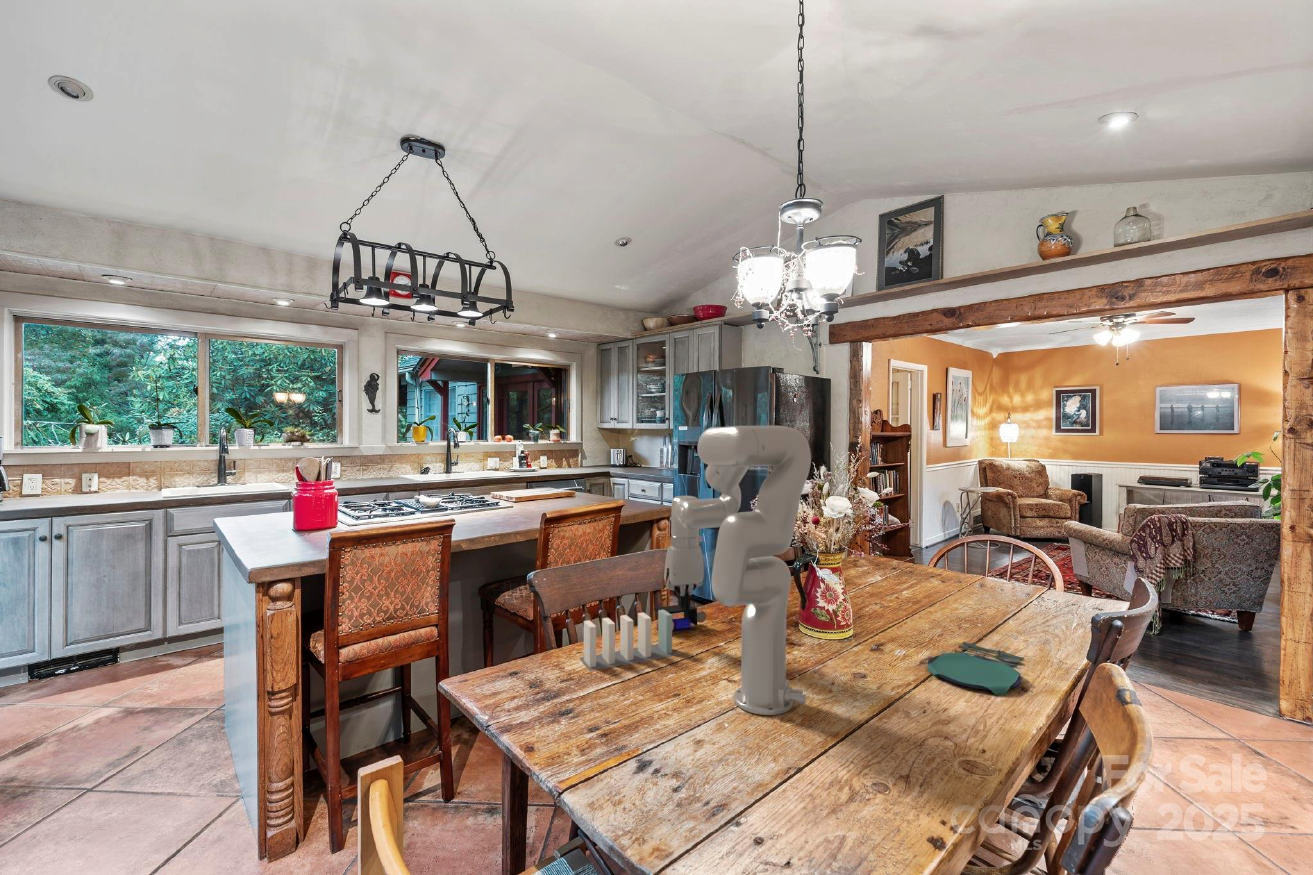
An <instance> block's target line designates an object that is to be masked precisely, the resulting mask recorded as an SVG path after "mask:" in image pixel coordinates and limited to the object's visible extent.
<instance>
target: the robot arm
mask: <svg viewBox="0 0 1313 875" xmlns="http://www.w3.org/2000/svg"><path fill="white" fill-rule="evenodd" d="M810 447H811V446H810V444H809V442H808V439H807V438H806V437H805V435H804V434H803V433H802V432H801V431H800V430H798V429H796V428H794V427H790V426H785V425H732V426H729V425H728V426H711V427H708V428H707V429H705V430H704V431H703V432H702V433H701V435H700V436H699V438H698V442H697V454H698V457H699V459H700V460H701V462H702V463H704V464H705V465H707V466H706V468H705V471H704V477H705V480H706V482H707V483H708V485H709V486H710V487H711V488H712V489H713V490H715V491H717V492H718V493H721V495H720V496H719V497H718V498H717V497H715V498H702V499H701V498H700V499H698V497H696V496H693V495H677V496H674V497H673V498H672V500H671V523H670V524H671V525H670V526H671V529H670V530H671V532H670V536H671V537H670V540H671V541H670V542H671V543H670V546H668V547H667V551H666V555H665V563H664V573H663V574H664V577H663V578H664V581H665V582H666V583H665V584H666V585H665V588H666V589H667V590H670V591H674V592H675V594H677V597H678V598H677V605H678V606H679V608H680V609H682V610H683V611H686V610H690V606H691V602H692V601H691V596H692V595H693V593H694V591H695V590H696V588H699V587H701V586H703V585H704V584H703V582H704V581H703V580H704V576H705V574H704V573H705V572H704V571H705V570H704V568H705V567H704V559H703V552H702V547H701V546H700V542H703V541H704V538H703V536H702V535H700V530H701V529H711V528H712V529H713V528H719V530H718V533H717V534H718V535H717V539H716V545H715V553H714V558H713V563H712V564H713V565H712V571H711V582H710V583H711V590H712V594H713V596H714V598H715V600H716V602H718V603H719V604H720V605H722V606H725V607H729V608H730V607H738V606H739V607H740V606H745V605H746V606H745V607H744V610H743V613H742V617H741V626H740V627H741V630H740V631H741V633H740V634H741V635H740V636H741V637H740V638H741V640H740V641H741V644H740V645H741V647H740V648H741V650H740V652H741V654H740V655H741V656H740V657H741V658H740V660H741V661H740V662H741V667H740V669H741V670H740V671H741V675H740V676H741V679H740V680H741V681H740V682H741V683H740V684H741V686H740V687H739V688H737V689H736V690H735V692H734V693H733V694H734V696H733V700H734V703H735V704H736V705H737V706H738V708H740V709H742V710H744V711H745V712H749V713H751V714H756V715H761V716H777V715H781V714H784V713H787V712H788V711H791V709H793V706H794V703H796V704H800V705H801V704H802V705H806V703H807V694H805V693H803V689H800V688H799V689H798V688H793V687H792V686H790V680H789V679H787V612H788V610H787V609H788V602H789V597H790V592H791V587H792V574H791V571H790V568H789V566H788V564H787V563H786V562H785V561H784V560H783V559H781V558H779V557H777V556H778V555H782V554H784V553H786V552H787V551H788V550H789V549H790V547H791V544H792V541H793V537H794V533H795V532H794V531H795V526H796V523H797V522H796V521H797V517H798V513H799V507H800V501H801V496H802V493H803V491H804V487H805V485H806V481H807V479H808V476H809V473H810V469H811V464H812V454H811V448H810ZM768 466H772V467H773V469H772V470H771V471H770V473H769V474H768V475H767V476H766V477H765V479H764V480H763V482H762V484H761V486H760V487H759V490H758V495H757V502H756V504H755V507H754V509H753V510H752V511H741V512H738V511H739V510H740V508H741V505H742V504H741V502H742V490H741V487H740V486H739V484H740V483H741V481H742V479H743V478H744V476H745V475H746V473H747V471H748V470H749V468H751V467H752V468H753V467H768Z"/></svg>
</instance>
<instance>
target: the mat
mask: <svg viewBox="0 0 1313 875" xmlns="http://www.w3.org/2000/svg"><path fill="white" fill-rule="evenodd" d="M675 656H678V654H677V652H675V651H674V650H672V653H668V654H666V653H665V652H664V651H662V650H661V649H660V648H659V647H658V643H657V644H651V656H650V657H644V656H643V655H642V654H641V653H640V652H639V651H638V647H633V660H628V661H627V660H626V659H625V658H624V657H623V656H622V655H621V654H620V650H615V663H612V664H608V663H607V661H606V660H605V659H604V658H603V657H602V653H600V654H596V667H589V666H588V665H587V663H586V662H585V661H584V656H582V657H581V656H580V657H578V659H579V660H580V662H581V663H582V664H583V665H584V666H585V667H586V669H587V670H588V671H589V672H594V671H599V670H605V669H609V668H615V667H620V666H626V665H631V664H632V665H633V664H636V663H643V662H647V661H653V660H660V659H663V658H669V657H675Z"/></svg>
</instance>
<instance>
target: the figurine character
mask: <svg viewBox="0 0 1313 875" xmlns="http://www.w3.org/2000/svg"><path fill="white" fill-rule="evenodd" d="M658 610H665V611H667V612H668V613H670V614H671V615H673V614H674V615H675V614H680V613H683V617H678V618H672V631H675V630H686V629H691V630H692V629H693V630H694V629H698V628H699V626H697V625H698V624H699V623H700V624H702V623H704V622H705V621H706V620H707V613H706V612H705V611H704V610H698V608H697V607H695V606H692V605H690V610H686V611H683V610H682V609H680V608H679V606H678V604H674V605H667V606H660V607H654V608H653V611H655V612H657V613H658ZM693 625H695V626H693ZM656 628H657V630H658V621H657V623H656Z"/></svg>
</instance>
